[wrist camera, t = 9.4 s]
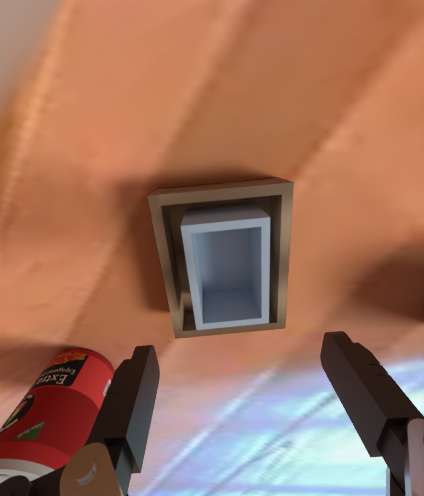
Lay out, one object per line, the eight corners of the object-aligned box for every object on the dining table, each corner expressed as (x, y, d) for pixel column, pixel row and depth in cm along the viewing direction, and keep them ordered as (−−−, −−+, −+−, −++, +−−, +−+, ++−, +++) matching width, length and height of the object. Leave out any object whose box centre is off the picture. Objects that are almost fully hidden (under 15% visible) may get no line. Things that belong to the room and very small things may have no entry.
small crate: (186, 208, 19) (180, 225, 15) (254, 202, 19) (270, 217, 15) (197, 294, 23) (196, 330, 18) (255, 289, 23) (268, 323, 18)
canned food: (85, 336, 25) (6, 458, 15) (130, 377, 28) (89, 502, 18) (37, 363, 27) (-66, 491, 16) (84, 399, 29) (22, 528, 19)
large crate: (156, 188, 19) (147, 195, 16) (278, 177, 19) (293, 182, 16) (179, 314, 24) (175, 338, 21) (274, 305, 24) (285, 328, 21)
